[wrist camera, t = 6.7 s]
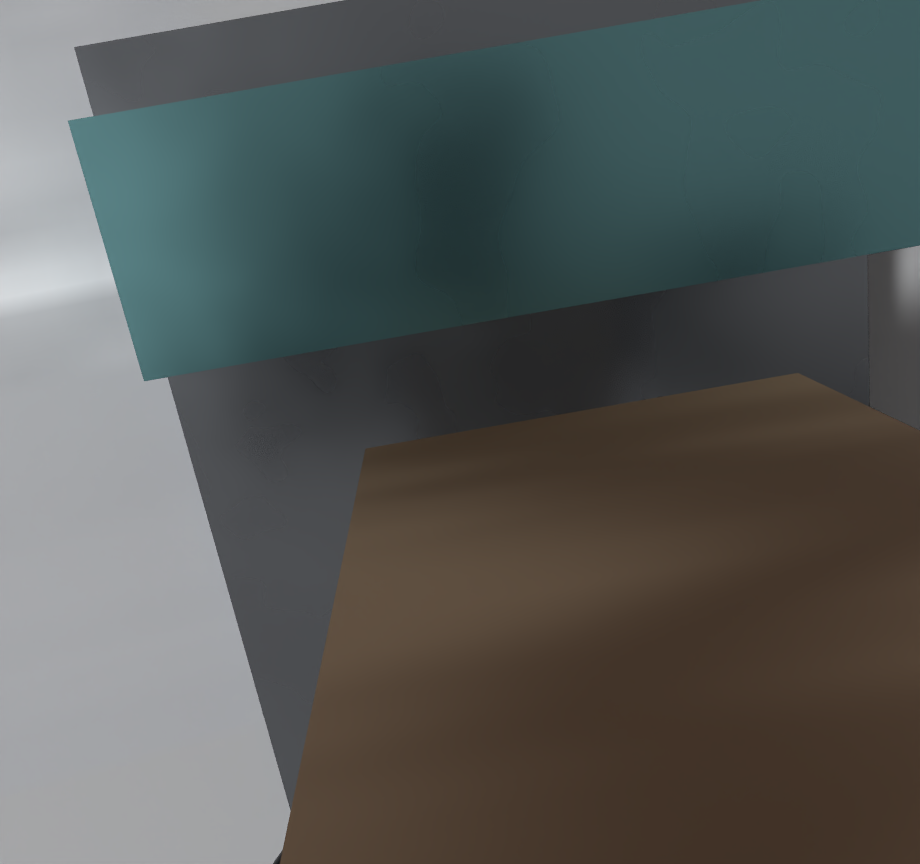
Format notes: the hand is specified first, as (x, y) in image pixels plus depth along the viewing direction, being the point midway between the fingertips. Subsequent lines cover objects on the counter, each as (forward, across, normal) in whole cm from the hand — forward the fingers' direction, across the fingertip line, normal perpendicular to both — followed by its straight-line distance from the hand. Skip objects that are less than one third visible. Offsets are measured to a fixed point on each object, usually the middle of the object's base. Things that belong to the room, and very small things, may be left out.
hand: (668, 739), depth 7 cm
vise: (+8, 0, +4) cm, 9 cm away
